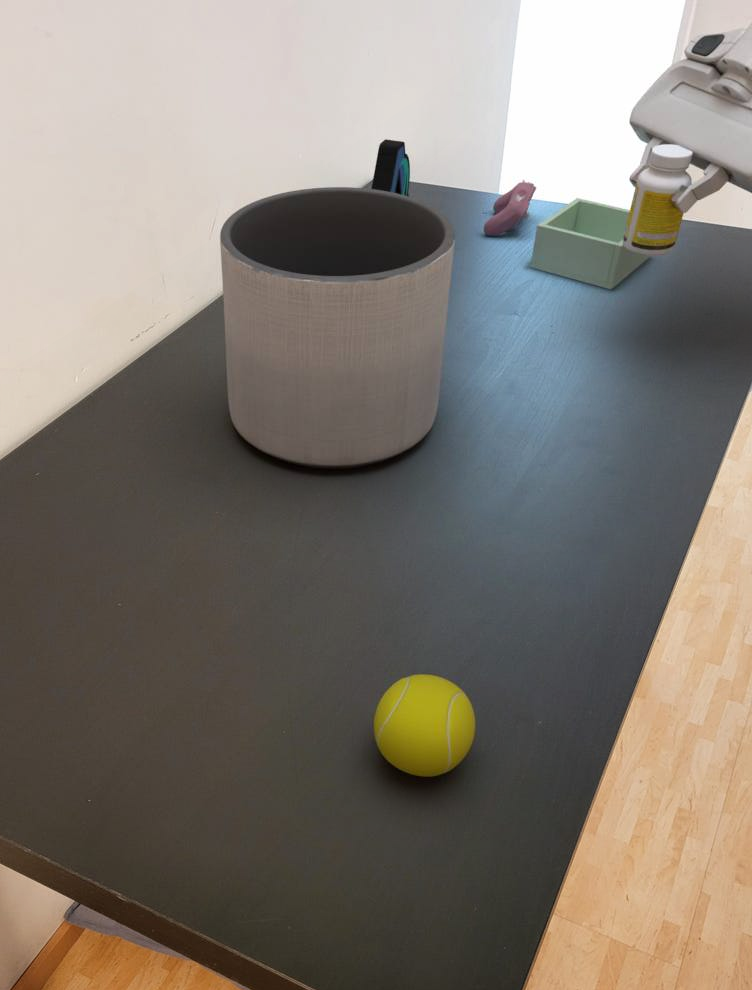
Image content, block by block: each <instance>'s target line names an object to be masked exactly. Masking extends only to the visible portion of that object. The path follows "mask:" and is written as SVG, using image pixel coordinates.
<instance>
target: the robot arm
mask: <svg viewBox="0 0 752 990" xmlns="http://www.w3.org/2000/svg"><path fill="white" fill-rule="evenodd" d="M683 52H684V56H685V58H684V59H680V60H678V61H676V62H674V63H673V64H672V65H670V66H669V67H668V68H666V70H665V71H664V72H663V73H662V74H660V76H659V77H658V78H657V79H656V80H655V81H654V83H652V85H651V86H650V87H648V89H647V90H646V92H644V93H643V95H642V96H641V97H640V99H639V100H638V101H637V102H636V103H635V105H634V106H633V108H632V110H631V112H630V116H629V121H628V122H629V125H630V127H631V128H632V130H633V132H634V134H635V135H636V136H637V138H638V139H639V140H640V141H642V142H643V143H645V144H646V145H645V148H644V151H643V153H642V157H641V159H640V163H639V165H638V166H637V168H635V170H634V171H633V172H632V173H631V174H630V176H629V179H628V180H629V182H630V184H631V185H632V186H633V187H634V188H635V187H636V183H637V179H638V176H639V175H640V173H641V172H642V171H644V170H645V169H648V168H650V166H649V164H648V163H649V159H650V155H651V151H652V148H654V147H655V146H658V145H665V144H673V145H679V146H681V147H684V148H686V149H688V150H690V151H692V152H693V154H692V158H691V162H690V165H691V166H694V167H695V168H698V169H700V170H702V171H703V173H702V174H703V175H704V176H702V177H701V178H699V179H698V180H696V181H694V182H693V183H691V185H690V186H688V187H686V186H683V185H681V186H680V188H679V189H678V190H677V192H676V193H675V194H673V195H672V196H671V198H670V202H671V204H672V205H673V207H674V208H675V209H677V210H679V211H680V212H683V213H684V214H686V213H688V212H689V211H690V210H691V208H693V206H694V205H695V204H696V203H697V202H698V201H701V200H703V199H705V198H707V197H710V196H711V195H712V194H715V193H717V192H719V191H720V190H721V189H722V188H723V187H724V186H725V185H726V184H727V183H729V184H732V185H734V186H736V187H738V188H740V189H742V190H743V191H746V192H748V193H751V194H752V23H751V24H750V25H749V26H748V27H747V28H745V27H744V28H743V27H742V28H737V29H734V30H733V29H732V30H729V31H724V32H715V33H703V34H699V35H696V36H695V37H693V38H692V39H691V40H690V42H689V43H688V44H687V45H686V47H685V48H684V51H683Z"/></svg>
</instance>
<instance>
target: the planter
mask: <svg viewBox="0 0 752 990" xmlns="http://www.w3.org/2000/svg"><path fill="white" fill-rule="evenodd" d="M454 227H455V226H454V225H453V223H452V221H451V220H450V219H449V218H448V217H447V215H446V214H444V213H443V212H442V211H440V210H439V209H438V208H436V207H434V206H432V205H430V204H429V203H426V202H425V201H423V200H419V199H417V198H414V197H411V196H409V197H408V196H405V195H401V194H397V193H392V192H387V191H382V190H375V189H371V188H365V187H352V186H351V187H350V186H331V187H329V186H327V187H314V188H313V187H312V188H303V189H297V190H290V191H286V192H281V193H277V194H274V195H270V196H267V197H263V198H260V199H257V200H255V201H253V202H250V203H249V204H246V205H245V206H243V207H241V208H239V209H238V210H236V211H235V212H234V213H232V214H231V215H230V216H229V217H228V218H227V219H226V220H225V221H224V223H223V224H222V226H221V229H220V234H219V245H220V262H221V279H222V294H223V295H222V296H223V297H222V298H223V317H224V318H223V319H224V335H225V336H224V340H225V363H226V385H227V386H226V387H227V401H228V402H227V403H228V409H229V414H230V419H231V422H232V425H233V427H234V429H235V430H236V431H237V433H238V434H239V435H240V436H241V437H242V439H244V441H246V442H247V443H248V444H250V445H251V446H252V447H254V448H256V450H258V451H260V452H262V453H264V454H266V455H268V456H270V457H273V458H275V459H278V460H281V461H283V462H285V463H289V464H292V465H297V466H302V467H307V468H308V467H309V468H315V469H352V468H359V467H364V466H369V465H373V464H377V463H381V462H384V461H387V460H389V459H392V458H394V457H397V456H399V455H401V454H404V453H405V452H406V451H408V450H410V449H412V448H414V446H416V445H417V444H418V443H420V442H421V441H422V440H423V439H424V438H425V437H426V436H427V435H428V433H429V432H430V431H431V429H432V428H433V425H434V423H435V420H436V417H437V412H438V407H439V399H440V390H441V380H442V372H443V371H442V370H443V361H444V359H443V358H444V349H445V339H446V327H447V319H448V310H449V309H448V307H449V296H450V288H451V279H452V270H453V269H452V268H453V260H454V251H455V243H456V241H455V240H456V232H455V228H454Z"/></svg>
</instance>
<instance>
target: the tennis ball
mask: <svg viewBox="0 0 752 990" xmlns="http://www.w3.org/2000/svg"><path fill="white" fill-rule="evenodd" d="M474 712H475V711H474V709H473V705H472V703H471V701H470V699H469V697H468V696H467V695H466V693H465V692H464V691H463V690H462V688H460V687H459V686H458V685H456V684H455V683H454V682H452V681H450V680H448V679H446V678H444V677H441V676H438V675H434V674H433V675H432V674H423V673H421V674H420V673H419V674H413V675H409V676H406V677H403V678H401V679H399V680H397V681H395V683H393V684H392V685H391V686H390V687H389V688H388V689H386V691H385V692H384V694H383V695H382V697H381V699H380V700H379V702H378V705H377V707H376V710H375V713H374V719H373V731H374V738H375V742H376V745H377V746H376V747H377V748H378V750H379V751H380V753H381V755H382V756H383V757H384V758H385V760H386V761H387V762H388V763H389V764H391V765H392V766H393V767H395V768H397V769H398V770H400V771H402V772H404V773H406V774H409V775H413V776H418V777H427V778H428V777H429V778H430V777H436V776H437V777H438V776H440V775H442V774H446V773H448V772H450V771H451V770H453V769H454V768H455V767H456V766H458V765H459V764H460V763H461V762H462V761H463V760H464V758H466V756H467V754H468V752H469V751H470V749H471V747H472V744H473V741H474V739H475V733H476V717H475V713H474Z"/></svg>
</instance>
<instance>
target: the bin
mask: <svg viewBox="0 0 752 990" xmlns="http://www.w3.org/2000/svg"><path fill="white" fill-rule="evenodd" d="M629 212H630V209H626V208H623V207H619V206H613V205H609V204H606V203H600V202H596V201H592V200H588V199H583V198H579V197H576V198H575V199H573V200H572V201H571V202H569V203H568V204H566V205H565V206H563V207H562V208H560V209H559V210H558V211H555V212H554V213H553V214H551V215H550V216H548V217H547V218H546V219H544V220H542V221H541V222H540V223H538V224H537V225H536V231H535V237H534V242H533V247H532V249H533V250H532V253H531V259H530V266H529V267H530V268H531V269H535V270H538V271H542V272H544V273H545V272H546V273H550V274H552V275H557V276H561V277H564V278H567V279H571V280H574V281H579V282H582V283H585V284H586V283H587V284H589V285H593V286H596V287H600V288H604V289H607V290H613V289H614V288H615V287H616V286H618V284H620V283H621V282H622V281H623V280H624V279H626V278H628V276H630V275H631V274H632V273H633V272H634V271H635V270H636V269H638V268H639V267H640V266H641V265H643V264H644V263H645V262H646V261H647V260H648V259H649V256H647V255H641V254H637V253H634V252H631V251H629V250H628V249H626V248H625V247H624V245H623V238H624V234H625V229H626V225H627V221H628V217H629Z"/></svg>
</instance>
